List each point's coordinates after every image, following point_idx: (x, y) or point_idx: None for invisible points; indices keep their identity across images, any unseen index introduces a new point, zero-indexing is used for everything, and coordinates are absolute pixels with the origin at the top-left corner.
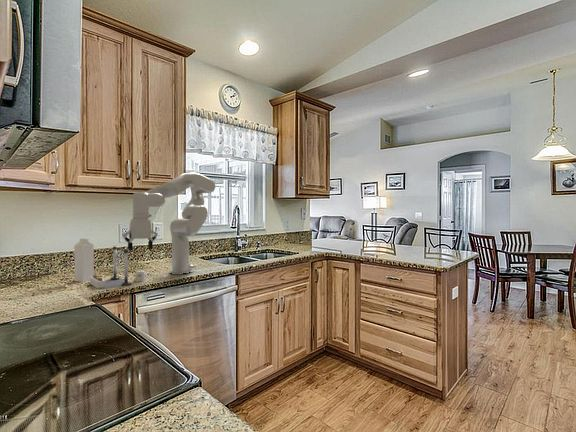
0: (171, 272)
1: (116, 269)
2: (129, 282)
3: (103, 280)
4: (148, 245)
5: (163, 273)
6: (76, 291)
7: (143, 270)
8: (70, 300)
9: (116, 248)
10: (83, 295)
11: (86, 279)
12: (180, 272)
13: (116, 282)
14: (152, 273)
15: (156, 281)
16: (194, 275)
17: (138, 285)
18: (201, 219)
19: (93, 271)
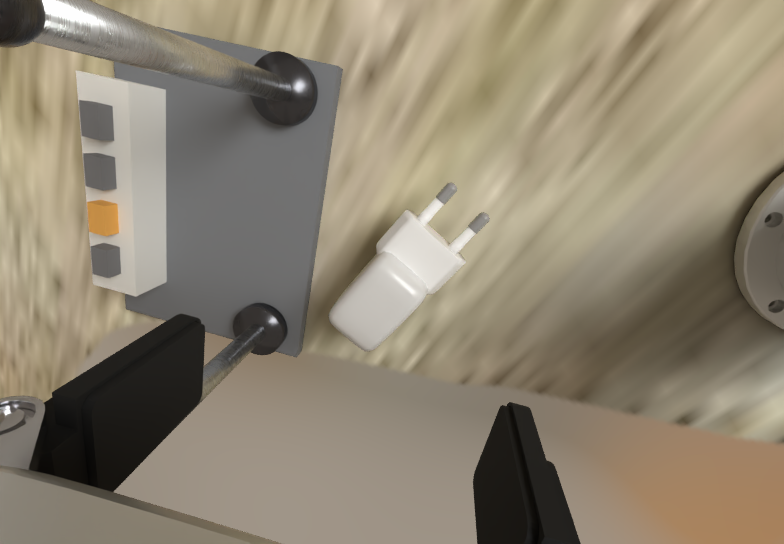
0: (748, 240)
1: (255, 88)
2: (274, 338)
3: (126, 276)
4: (508, 462)
5: (750, 127)
6: (52, 189)
7: (396, 319)
8: (22, 334)
9: (14, 42)
10: (71, 301)
11: None
12: (775, 314)
13: (251, 213)
14: (701, 26)
15: (464, 344)
16: (773, 416)
17: (333, 342)
18: None
19: None
